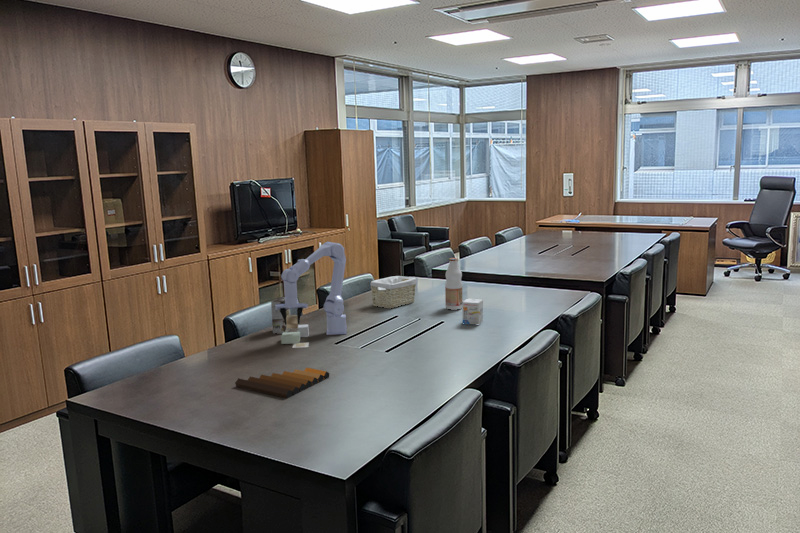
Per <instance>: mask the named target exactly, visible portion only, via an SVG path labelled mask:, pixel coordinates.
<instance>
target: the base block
mask: <svg viewBox="0 0 800 533" xmlns="http://www.w3.org/2000/svg"><path fill="white" fill-rule="evenodd" d="M280 339H281V340H280V341H281V342H280V344H281V345H284V344H285V345H288V344H291V345H293V344H294V343H301V342H300V341H301V337H300V332H297V331H290V332H289V331H288V332H285V333H282V334H281V336H280Z"/></svg>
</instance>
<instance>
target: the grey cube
mask: <svg viewBox="0 0 800 533" xmlns="http://www.w3.org/2000/svg"><path fill="white" fill-rule="evenodd" d="M296 329H297V330H296V332H300V338H308V337H309V335H310V330H309V323H308V324H307V323H306V324H298V328H296Z"/></svg>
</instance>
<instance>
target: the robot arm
mask: <svg viewBox="0 0 800 533" xmlns="http://www.w3.org/2000/svg"><path fill="white" fill-rule="evenodd" d="M323 257H329V258H330V259H331V261H333V268H332V275H331V282H330V288H329V289H330V290H329V294H328V295H327V296H326V299H325V302H324V304H323V310H324V312H325V314H326V335H327V336H329V335H330V336H332V335H346V334H347V329H348V327H347V319H346V318H347V315H346V314H343V313H344V311H345V307H344V299H343V297H342V291H343V286H344V285H343V283H344V277H345V270H346V262H347V258H346V254H345V248H344V246H343V245H342V244H341V243H339V242H333V241H332V242H331V241H326V242H324V243H322V244H320V246H319V247H318V248H317V249H316V250H315V251H314V252H312V253H311V254H310V255H308V257H307V258H305V259H304V258H301V259H297V262H296V263H295V264H293V265H291V266H289V268H286V269H284V270H283V271H282V273H281V275H280V278H281V280H282V281H283V290H284V293H283V294H284V298H285V304H279V305H275V310H278V309H280V312H281V314H282V316H283V318H284V321H285V325H286V317H287V315H286V309H290V310H292V309H296V315H298V325H300V321H301V315H302V313H303V310H304V309H308V307H309V306H308V302H307V303H302V302H298V301H299V300H298V286H297V285H298V284H297V281H298V280H299V278H300V277H301V276H302V275H303V274H304V273H306V272H307V271H309V269H310V267H311V265H312V264H314V263H315V262H317V261H318V260H320V259H322V258H323Z"/></svg>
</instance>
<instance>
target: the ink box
mask: <svg viewBox="0 0 800 533" xmlns="http://www.w3.org/2000/svg"><path fill="white" fill-rule="evenodd" d="M462 301H463V302H462V309H461V310H462V324H463V323H464V324H463V325H465V324H480V323H481V322H482V321H483V318H484V315H483V314H484V300H483V299H478V298H477V299H476V298H466V299H465V300H464V299H463V300H462ZM482 323H483V322H482ZM480 325H481V324H480Z"/></svg>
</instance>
